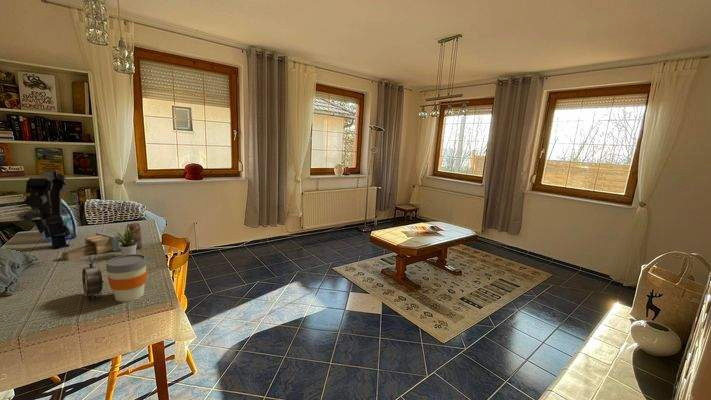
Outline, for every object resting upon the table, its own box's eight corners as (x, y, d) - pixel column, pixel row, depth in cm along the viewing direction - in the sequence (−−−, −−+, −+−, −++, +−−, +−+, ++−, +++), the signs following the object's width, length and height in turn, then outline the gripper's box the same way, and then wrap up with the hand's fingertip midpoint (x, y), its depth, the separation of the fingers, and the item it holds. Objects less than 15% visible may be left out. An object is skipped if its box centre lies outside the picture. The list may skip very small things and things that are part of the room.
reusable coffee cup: (117, 307, 106) (113, 269, 104) (103, 297, 113) (99, 260, 110) (155, 294, 117) (152, 258, 114) (140, 285, 123) (138, 251, 121)
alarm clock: (83, 293, 115) (78, 254, 112) (101, 289, 119) (96, 251, 116) (87, 304, 108) (82, 262, 105) (106, 299, 112) (102, 258, 109)
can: (135, 250, 160) (132, 226, 158) (125, 249, 162) (123, 225, 159) (144, 247, 166) (143, 223, 164) (135, 246, 167) (133, 222, 165)
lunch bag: (37, 235, 177) (31, 192, 173) (75, 230, 190) (70, 190, 185) (39, 244, 163) (33, 198, 159) (80, 238, 176) (75, 195, 171)
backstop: (97, 246, 164) (95, 232, 162) (101, 245, 166) (99, 232, 164) (115, 251, 158) (113, 237, 157) (119, 250, 160) (118, 236, 159)
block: (85, 250, 157) (84, 237, 156) (100, 246, 163) (98, 234, 162) (98, 253, 153) (96, 241, 152) (112, 250, 159) (110, 237, 158)
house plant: (154, 254, 156) (151, 225, 154) (124, 263, 144) (121, 231, 141) (138, 249, 162) (135, 221, 159) (108, 257, 150) (105, 226, 147)
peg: (62, 259, 145) (61, 252, 144) (95, 250, 159) (94, 243, 159) (69, 260, 144) (68, 253, 143) (101, 251, 159) (100, 244, 158)
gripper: (8, 203, 138) (13, 235, 140) (29, 208, 131) (34, 241, 134) (40, 200, 148) (44, 230, 151) (61, 204, 142) (65, 235, 144)
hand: (46, 234), depth 145 cm, fingers open, 9 cm apart
